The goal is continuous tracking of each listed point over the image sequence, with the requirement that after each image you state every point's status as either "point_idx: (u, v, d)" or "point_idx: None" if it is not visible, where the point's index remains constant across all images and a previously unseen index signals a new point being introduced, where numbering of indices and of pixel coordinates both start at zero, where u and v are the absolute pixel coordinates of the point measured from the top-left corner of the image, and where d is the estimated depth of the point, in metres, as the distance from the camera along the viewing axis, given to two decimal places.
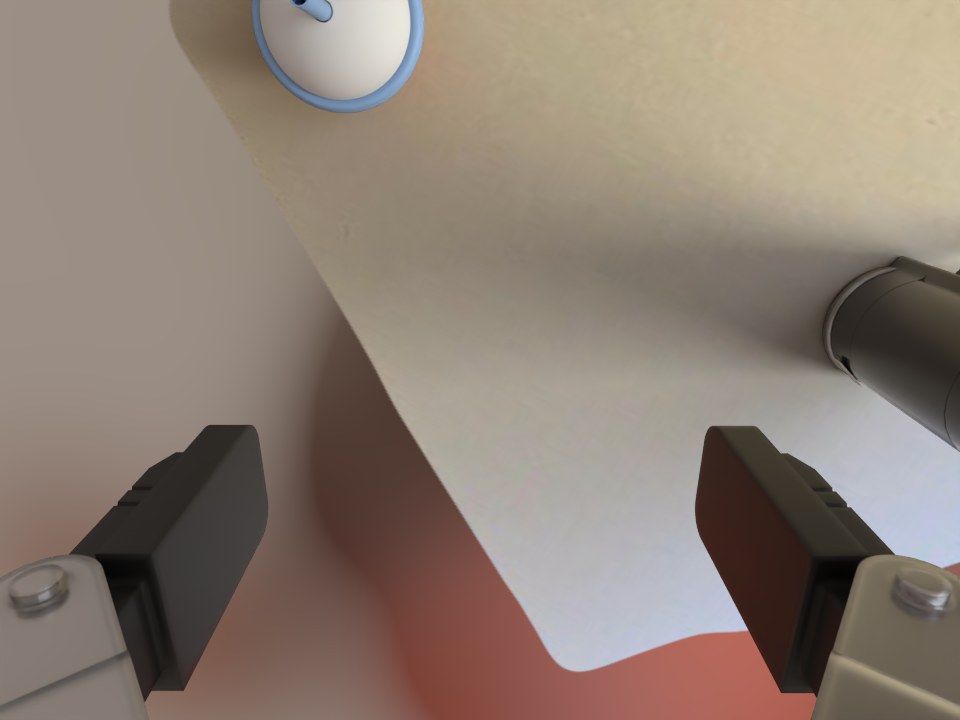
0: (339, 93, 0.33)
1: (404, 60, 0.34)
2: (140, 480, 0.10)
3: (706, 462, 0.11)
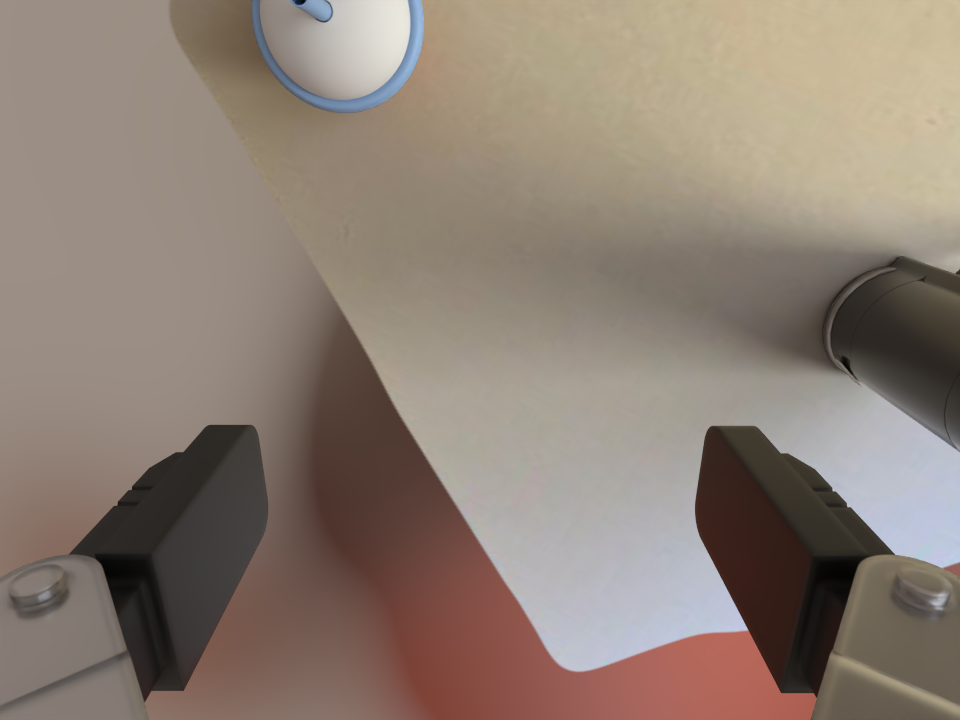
0: (339, 93, 0.33)
1: (404, 60, 0.34)
2: (140, 480, 0.10)
3: (706, 462, 0.11)
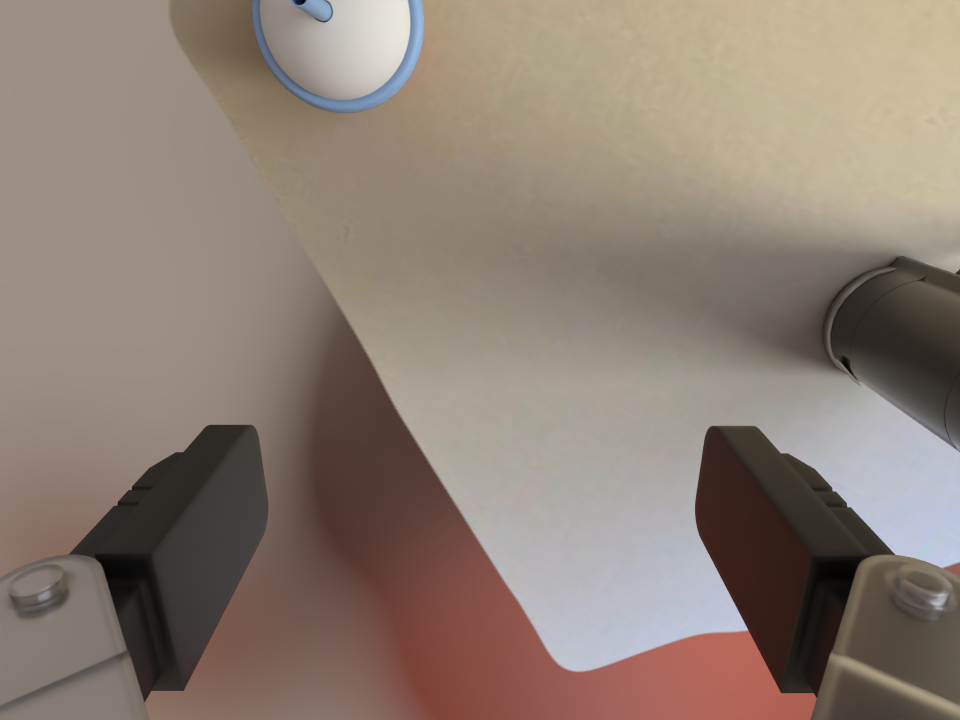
0: (339, 93, 0.33)
1: (404, 60, 0.34)
2: (140, 480, 0.10)
3: (706, 462, 0.11)
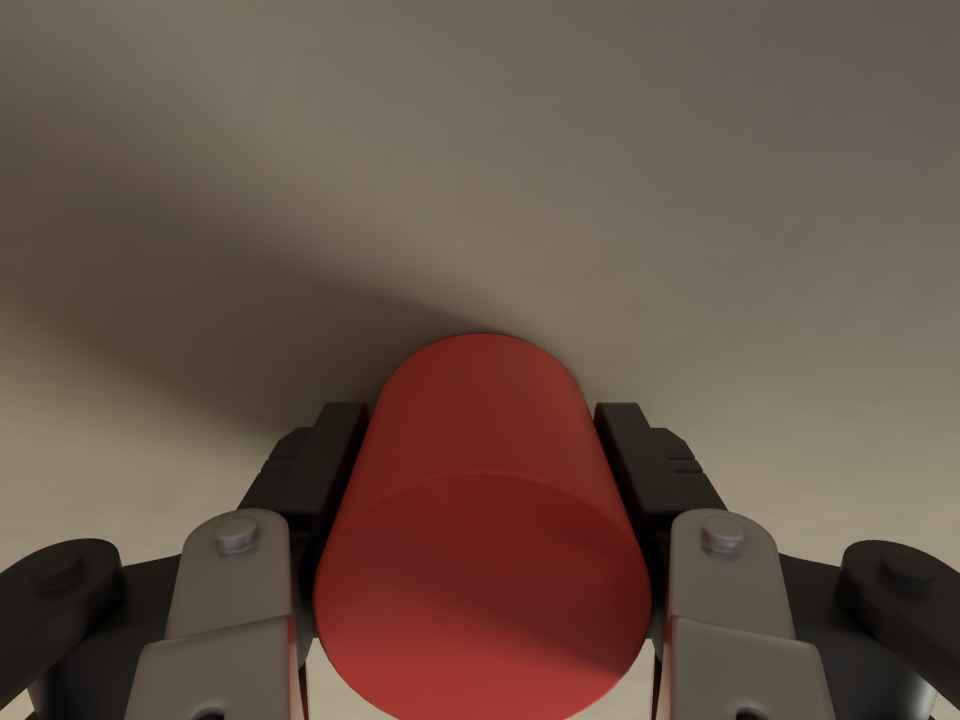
0: None
1: None
2: (274, 451, 0.11)
3: None
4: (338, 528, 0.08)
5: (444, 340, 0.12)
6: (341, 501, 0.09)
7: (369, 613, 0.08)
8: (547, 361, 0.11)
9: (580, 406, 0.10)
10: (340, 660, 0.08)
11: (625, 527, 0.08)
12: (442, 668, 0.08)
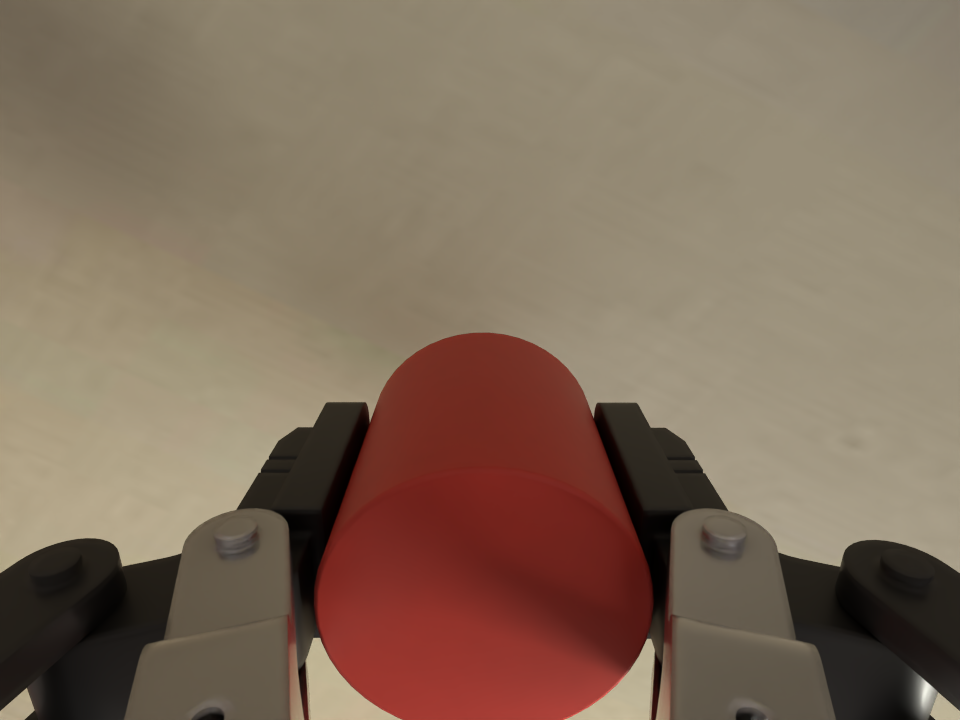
0: None
1: None
2: (274, 451, 0.11)
3: None
4: (339, 527, 0.08)
5: (445, 339, 0.12)
6: (342, 500, 0.09)
7: (370, 612, 0.08)
8: (548, 360, 0.11)
9: (581, 405, 0.10)
10: (341, 659, 0.08)
11: (626, 526, 0.08)
12: (443, 666, 0.08)
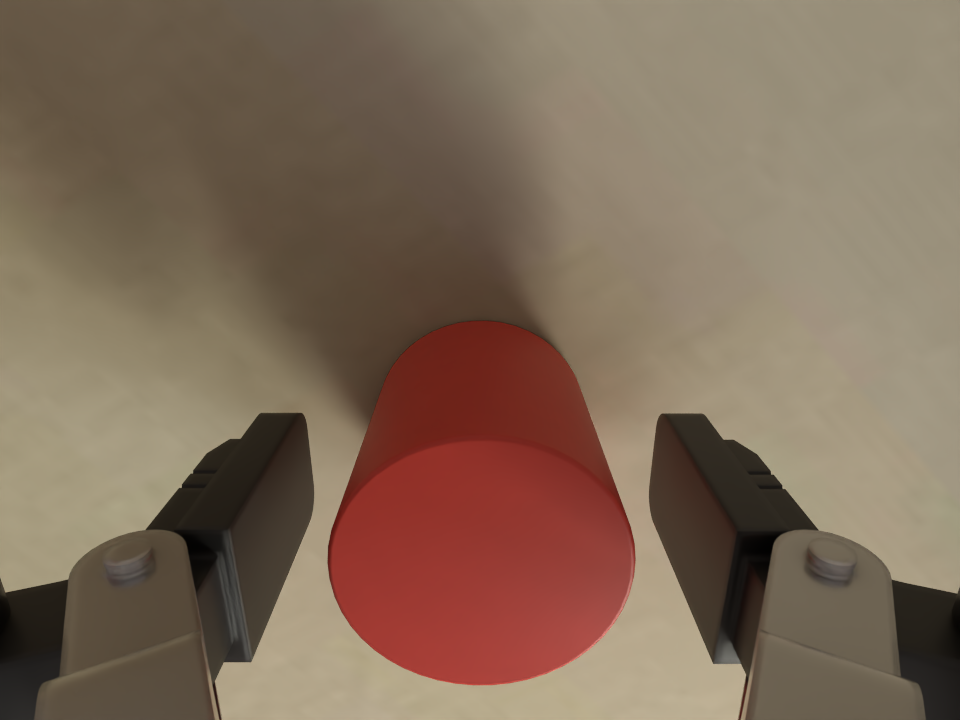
0: None
1: None
2: (200, 465, 0.10)
3: (657, 448, 0.11)
4: (351, 490, 0.08)
5: (446, 327, 0.12)
6: (353, 470, 0.10)
7: (379, 569, 0.09)
8: (542, 346, 0.12)
9: (572, 387, 0.11)
10: (352, 612, 0.09)
11: (610, 489, 0.08)
12: (445, 620, 0.09)
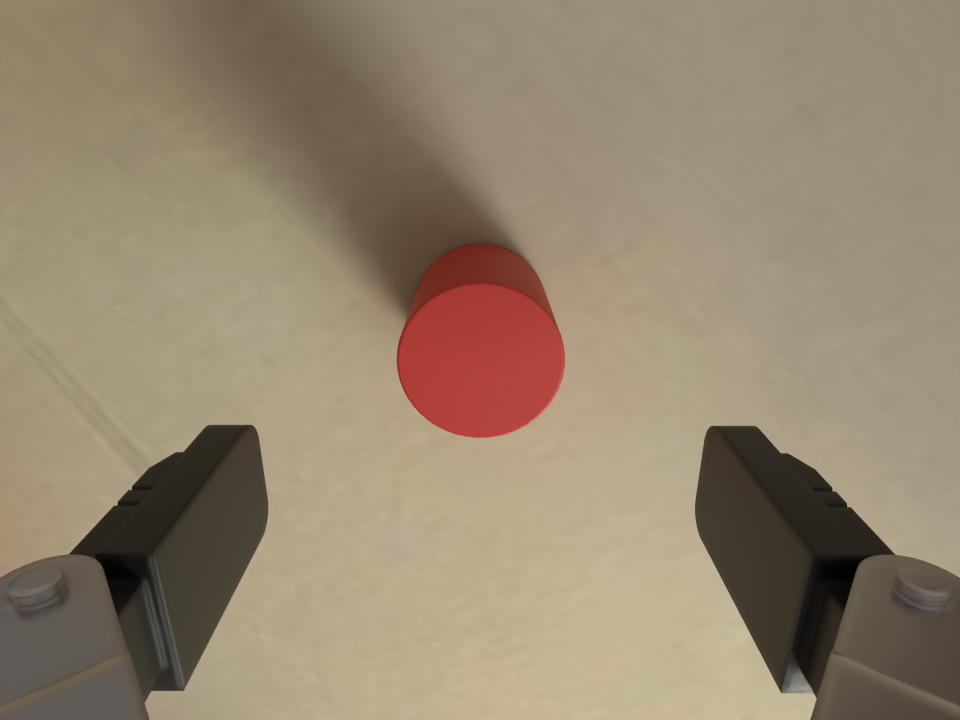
0: None
1: None
2: (140, 480, 0.10)
3: (706, 462, 0.11)
4: (411, 315, 0.16)
5: (458, 248, 0.20)
6: (408, 315, 0.17)
7: (425, 361, 0.16)
8: (518, 258, 0.19)
9: (536, 279, 0.19)
10: (409, 389, 0.16)
11: (549, 314, 0.16)
12: (460, 394, 0.16)
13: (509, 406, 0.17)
